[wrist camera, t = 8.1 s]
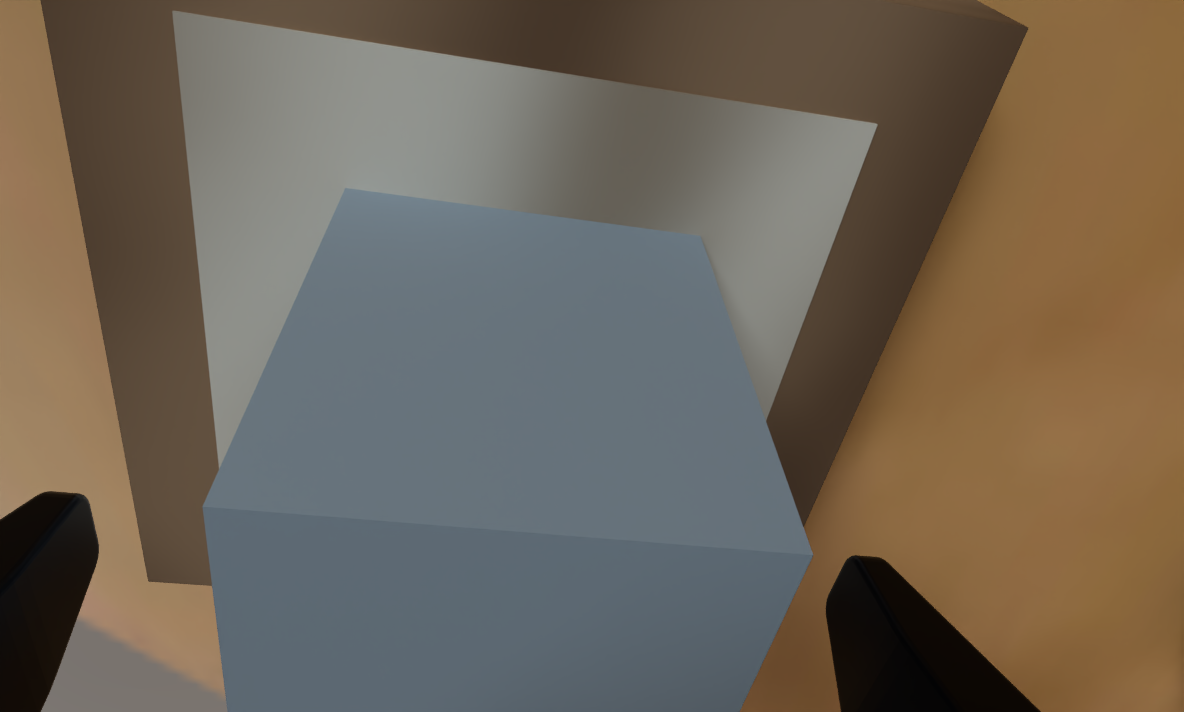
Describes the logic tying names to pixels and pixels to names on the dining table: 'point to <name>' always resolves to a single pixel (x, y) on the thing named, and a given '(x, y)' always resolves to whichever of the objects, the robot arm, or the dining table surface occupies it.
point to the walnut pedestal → (505, 178)
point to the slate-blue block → (500, 477)
